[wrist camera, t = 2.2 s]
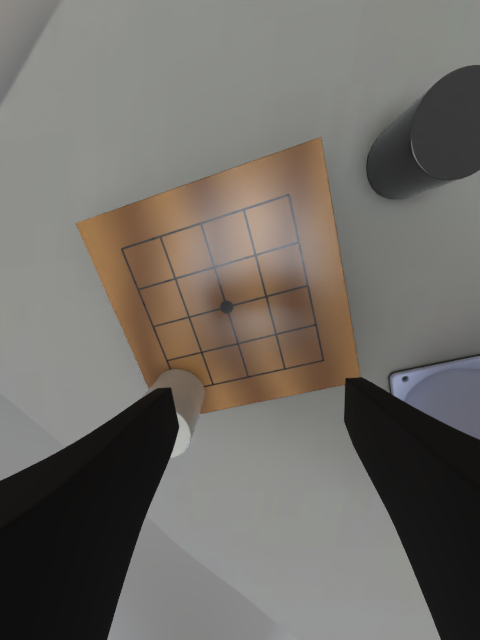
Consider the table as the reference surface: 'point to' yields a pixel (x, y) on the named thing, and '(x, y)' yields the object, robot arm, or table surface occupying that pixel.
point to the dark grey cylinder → (430, 139)
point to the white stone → (183, 403)
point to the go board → (233, 280)
